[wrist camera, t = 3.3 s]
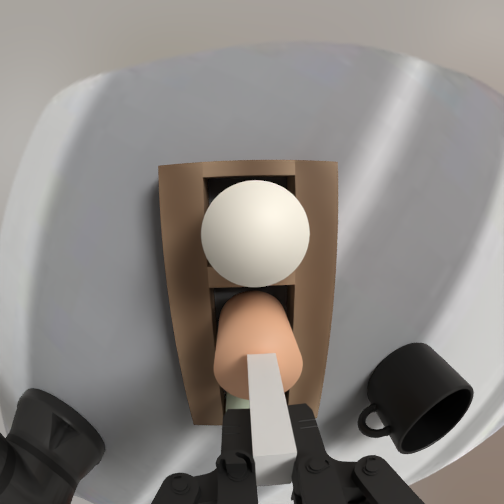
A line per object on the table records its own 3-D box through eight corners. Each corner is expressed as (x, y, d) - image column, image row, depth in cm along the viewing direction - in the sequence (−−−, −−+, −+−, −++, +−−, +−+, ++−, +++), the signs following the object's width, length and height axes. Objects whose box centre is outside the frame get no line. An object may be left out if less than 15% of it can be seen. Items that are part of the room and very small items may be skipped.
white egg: (214, 257, 19) (204, 289, 13) (211, 184, 18) (198, 182, 12) (287, 255, 19) (308, 284, 13) (286, 182, 18) (309, 180, 12)
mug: (340, 371, 25) (373, 434, 16) (434, 328, 24) (482, 368, 16) (348, 421, 27) (371, 475, 18) (428, 383, 27) (463, 424, 18)
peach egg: (221, 349, 20) (218, 401, 15) (217, 291, 19) (209, 333, 13) (284, 346, 21) (299, 396, 15) (286, 288, 19) (305, 329, 14)
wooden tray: (196, 404, 25) (193, 424, 22) (169, 168, 19) (158, 165, 17) (310, 398, 25) (316, 417, 22) (324, 165, 20) (337, 161, 17)
